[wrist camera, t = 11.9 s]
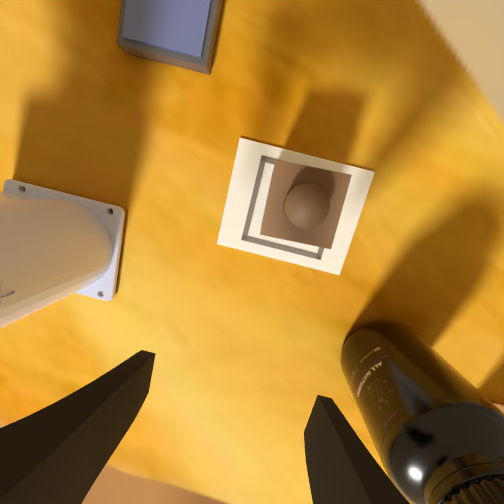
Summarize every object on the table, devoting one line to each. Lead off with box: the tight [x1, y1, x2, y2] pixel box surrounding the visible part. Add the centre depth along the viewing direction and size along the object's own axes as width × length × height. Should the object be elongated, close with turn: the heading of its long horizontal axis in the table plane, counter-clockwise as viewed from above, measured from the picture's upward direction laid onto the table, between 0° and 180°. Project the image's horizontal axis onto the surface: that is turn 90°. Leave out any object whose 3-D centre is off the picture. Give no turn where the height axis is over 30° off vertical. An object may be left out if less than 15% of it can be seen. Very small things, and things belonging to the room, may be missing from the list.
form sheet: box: [217, 138, 375, 275], centre depth 18 cm, size 10×8×1 cm
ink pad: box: [117, 0, 223, 74], centre depth 15 cm, size 6×6×1 cm
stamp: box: [260, 160, 352, 249], centre depth 15 cm, size 4×4×6 cm
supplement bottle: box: [341, 322, 504, 504], centre depth 14 cm, size 7×7×12 cm
